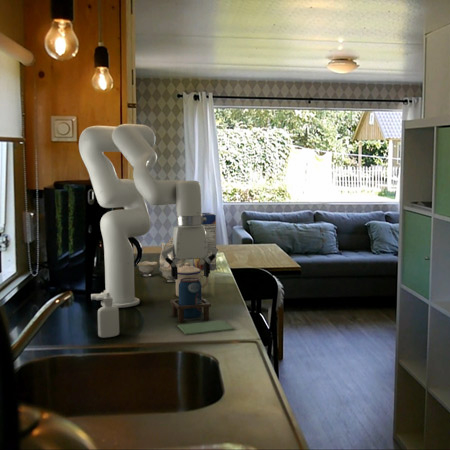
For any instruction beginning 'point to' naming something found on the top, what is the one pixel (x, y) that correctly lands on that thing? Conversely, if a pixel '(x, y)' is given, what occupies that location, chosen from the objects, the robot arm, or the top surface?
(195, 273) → the teacup with lid
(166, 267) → the chinaware
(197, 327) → the mat
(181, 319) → the can rack
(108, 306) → the eye dropper bottle
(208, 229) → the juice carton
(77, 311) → the top surface
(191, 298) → the soda can
